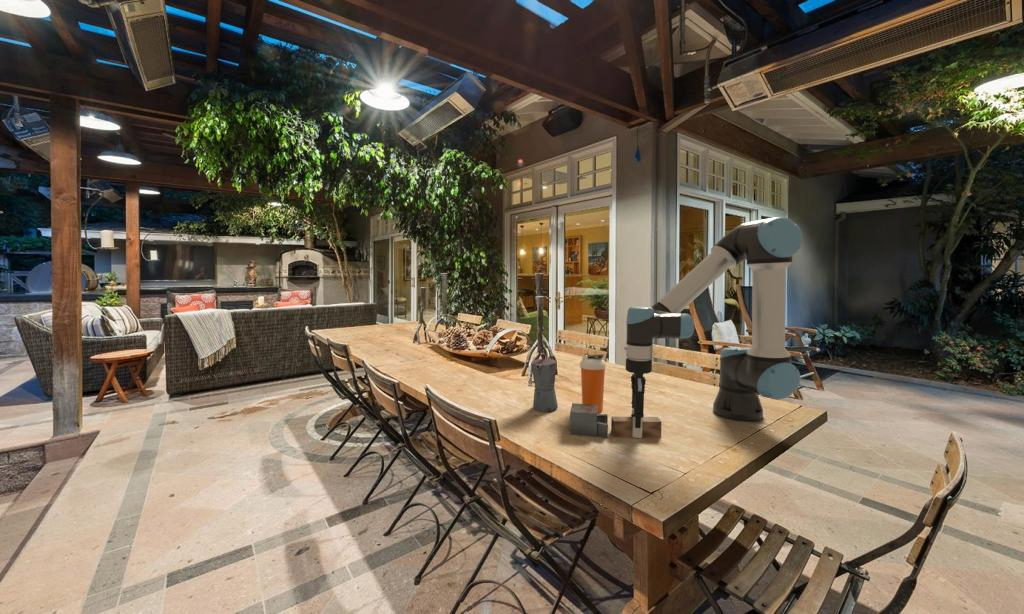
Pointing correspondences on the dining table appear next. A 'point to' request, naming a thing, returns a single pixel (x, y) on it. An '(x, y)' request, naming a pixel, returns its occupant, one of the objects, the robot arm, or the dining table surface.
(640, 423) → the robot arm
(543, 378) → the moka pot
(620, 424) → the brown wooden block
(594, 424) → the end cap
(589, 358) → the shaker bottle
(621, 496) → the dining table surface
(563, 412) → the dining table surface
